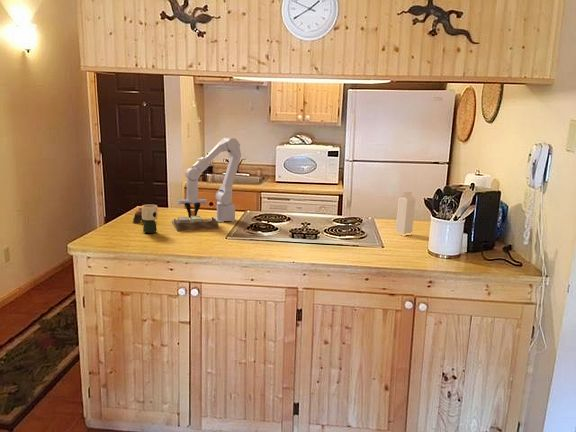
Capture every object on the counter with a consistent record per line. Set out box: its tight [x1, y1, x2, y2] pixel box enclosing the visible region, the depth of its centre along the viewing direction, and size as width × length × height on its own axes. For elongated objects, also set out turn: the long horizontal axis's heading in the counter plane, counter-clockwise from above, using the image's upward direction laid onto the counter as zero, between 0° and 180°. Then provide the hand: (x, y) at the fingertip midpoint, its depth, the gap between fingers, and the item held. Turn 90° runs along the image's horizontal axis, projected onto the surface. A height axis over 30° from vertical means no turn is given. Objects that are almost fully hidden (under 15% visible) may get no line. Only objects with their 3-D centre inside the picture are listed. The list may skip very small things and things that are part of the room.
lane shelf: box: [171, 216, 220, 232], centre depth 255 cm, size 20×18×4 cm
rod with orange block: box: [189, 209, 203, 222], centre depth 254 cm, size 5×14×5 cm, turn 21°
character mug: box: [141, 204, 158, 234], centre depth 237 cm, size 11×7×13 cm, turn 0°
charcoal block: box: [177, 216, 190, 223], centre depth 249 cm, size 5×6×4 cm
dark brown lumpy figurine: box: [132, 207, 145, 225], centre depth 257 cm, size 12×10×8 cm
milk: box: [395, 191, 417, 234], centre depth 253 cm, size 6×6×22 cm
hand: (192, 217), depth 260 cm, fingers closed
